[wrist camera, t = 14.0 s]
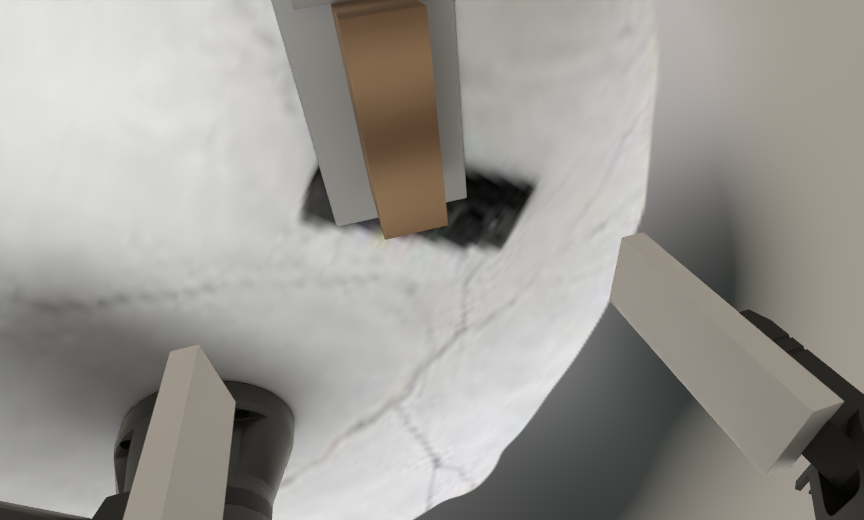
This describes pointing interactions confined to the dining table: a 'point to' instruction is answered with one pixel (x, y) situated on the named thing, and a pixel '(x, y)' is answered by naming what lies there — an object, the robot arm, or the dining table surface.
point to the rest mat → (333, 111)
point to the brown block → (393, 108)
